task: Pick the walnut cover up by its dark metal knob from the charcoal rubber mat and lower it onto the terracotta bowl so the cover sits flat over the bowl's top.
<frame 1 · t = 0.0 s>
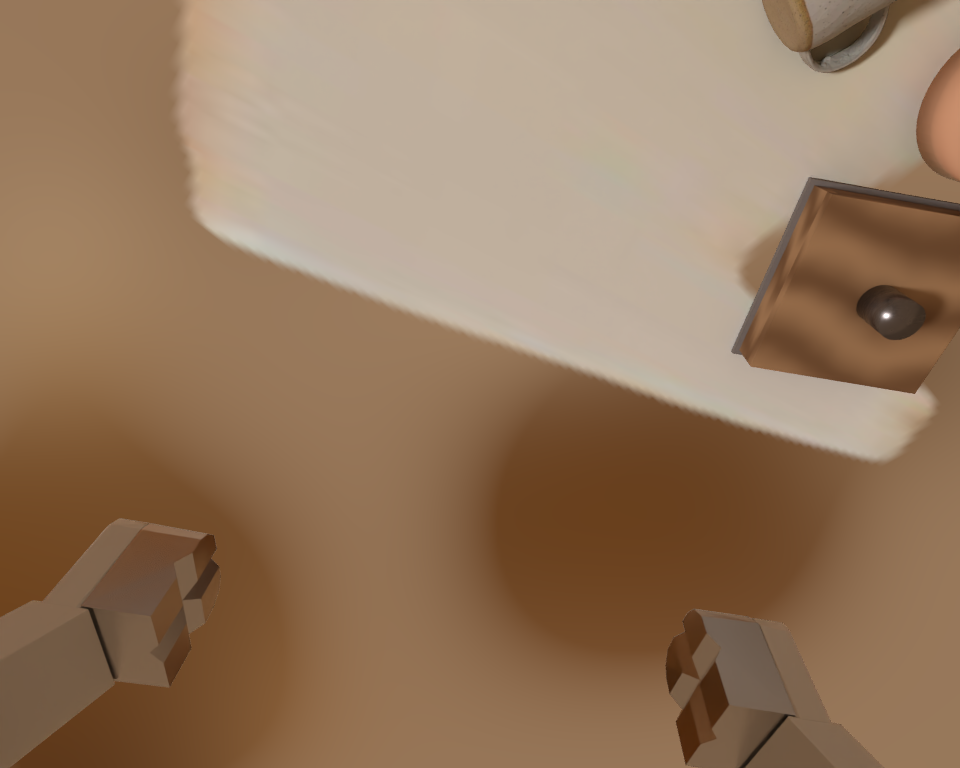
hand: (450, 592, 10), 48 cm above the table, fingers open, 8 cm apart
lid: (858, 288, 55), resting on mat
mat: (855, 286, 55), on the table
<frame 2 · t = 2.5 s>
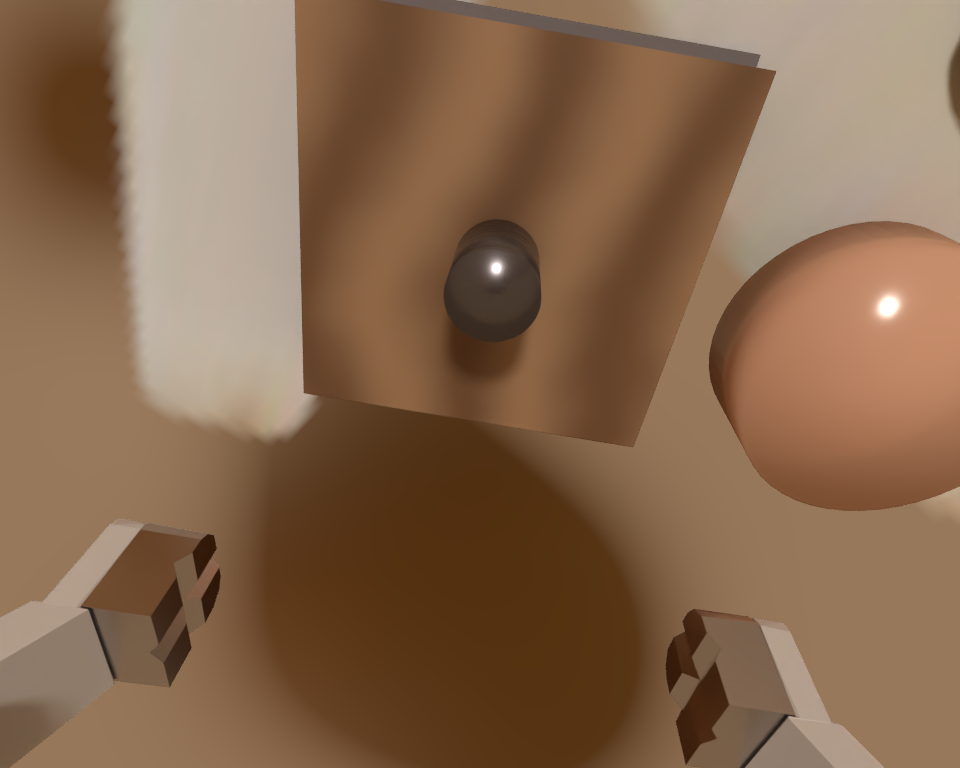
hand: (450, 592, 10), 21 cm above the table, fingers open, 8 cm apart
lid: (500, 236, 27), resting on mat
mat: (500, 233, 27), on the table
bowl: (820, 327, 29), on the table
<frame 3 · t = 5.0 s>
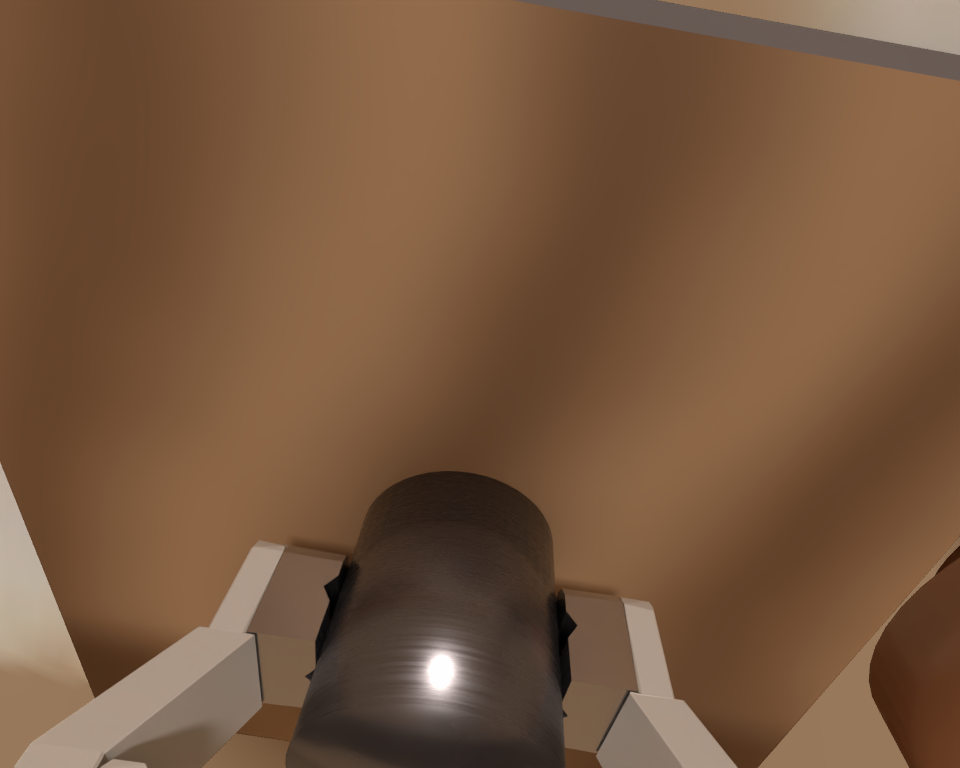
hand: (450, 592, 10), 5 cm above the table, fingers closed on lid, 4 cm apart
lid: (471, 433, 13), resting on mat, touching gripper
mat: (472, 421, 14), on the table
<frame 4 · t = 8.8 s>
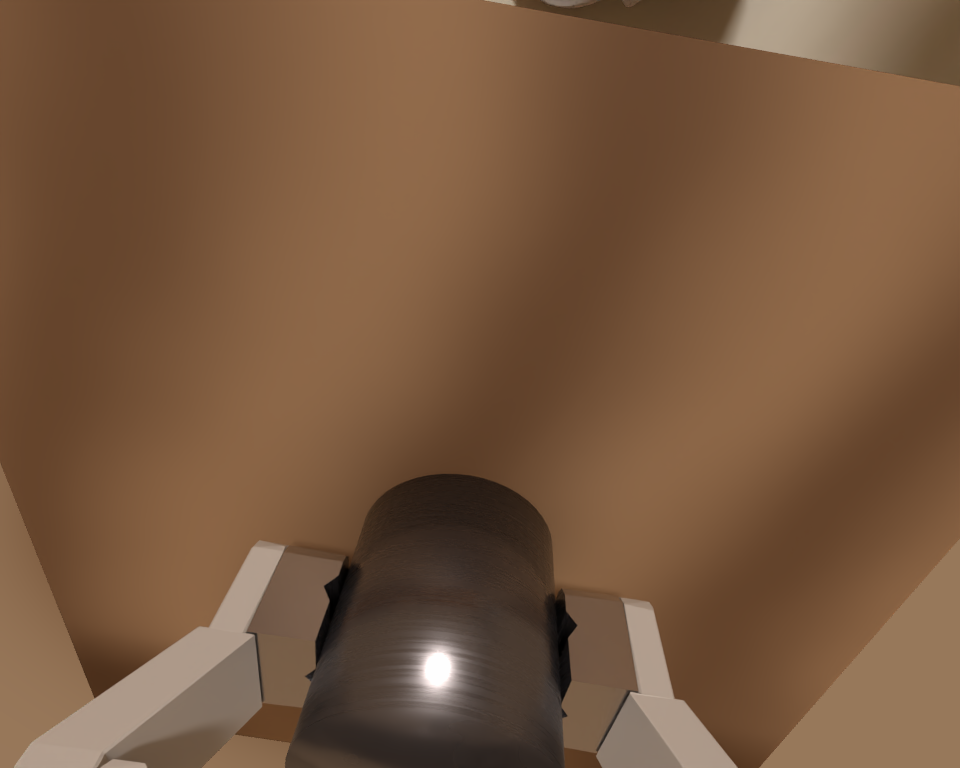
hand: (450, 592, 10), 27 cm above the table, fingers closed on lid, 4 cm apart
lid: (471, 435, 14), point 22 cm above the table, touching gripper
when the fingers open (11 cm above the table, at t = 13.0 s): lid drops 1 cm, resting on bowl.
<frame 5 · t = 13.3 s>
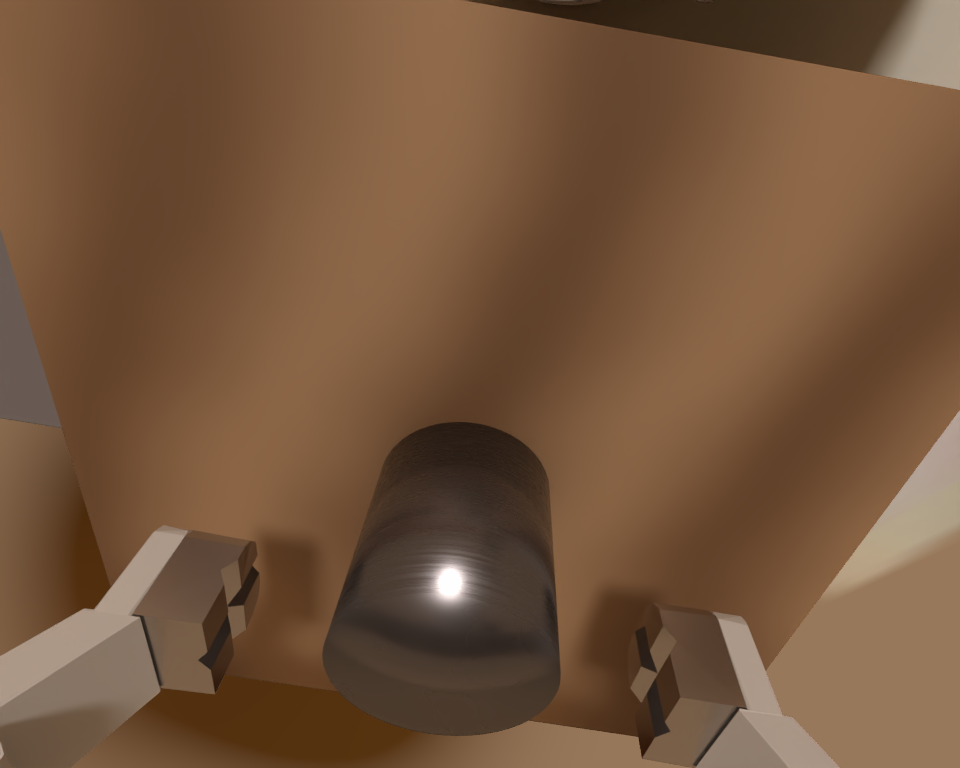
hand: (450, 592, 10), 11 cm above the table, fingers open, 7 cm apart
lid: (475, 400, 15), point 4 cm above the table, touching bowl
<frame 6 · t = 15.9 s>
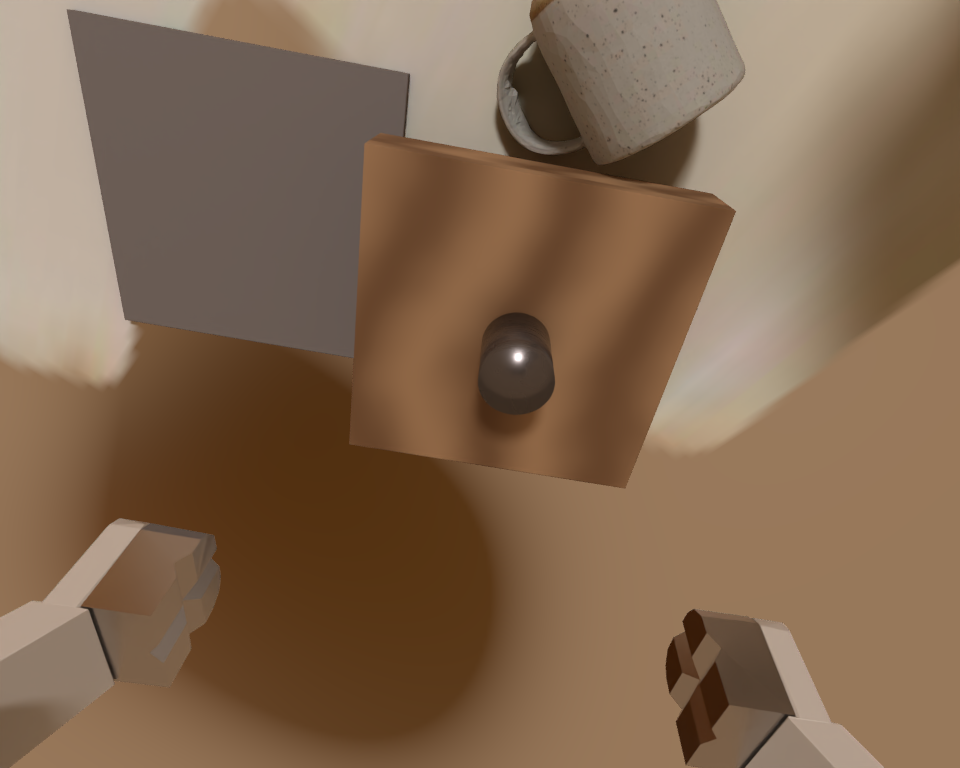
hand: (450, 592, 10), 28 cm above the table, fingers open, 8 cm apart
lid: (515, 316, 32), point 5 cm above the table, touching bowl
ceramic mug: (597, 66, 30), on the table
mat: (251, 210, 34), on the table
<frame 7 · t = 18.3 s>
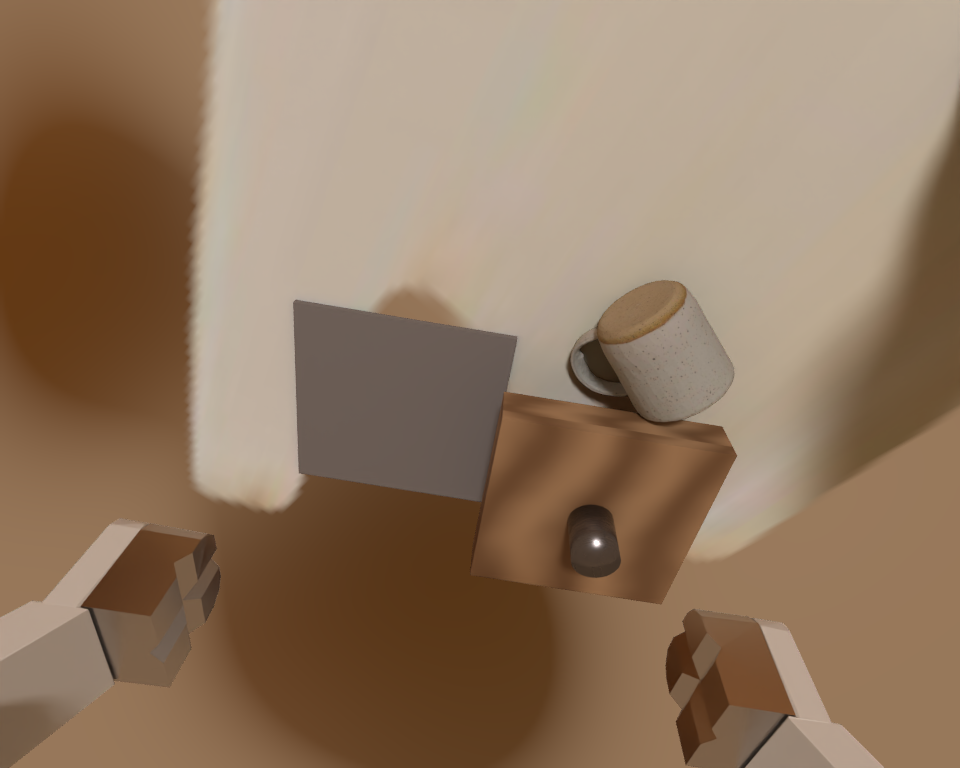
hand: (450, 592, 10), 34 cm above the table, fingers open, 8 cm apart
lid: (586, 490, 47), point 5 cm above the table, touching bowl
ceramic mug: (636, 336, 45), on the table
mat: (398, 409, 49), on the table
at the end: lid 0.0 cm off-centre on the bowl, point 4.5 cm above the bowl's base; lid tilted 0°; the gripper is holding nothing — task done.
